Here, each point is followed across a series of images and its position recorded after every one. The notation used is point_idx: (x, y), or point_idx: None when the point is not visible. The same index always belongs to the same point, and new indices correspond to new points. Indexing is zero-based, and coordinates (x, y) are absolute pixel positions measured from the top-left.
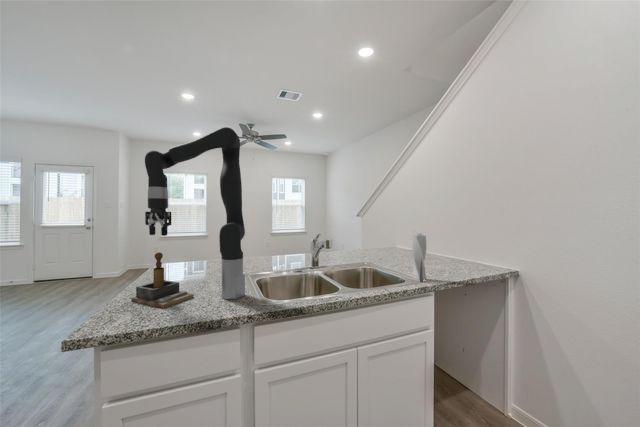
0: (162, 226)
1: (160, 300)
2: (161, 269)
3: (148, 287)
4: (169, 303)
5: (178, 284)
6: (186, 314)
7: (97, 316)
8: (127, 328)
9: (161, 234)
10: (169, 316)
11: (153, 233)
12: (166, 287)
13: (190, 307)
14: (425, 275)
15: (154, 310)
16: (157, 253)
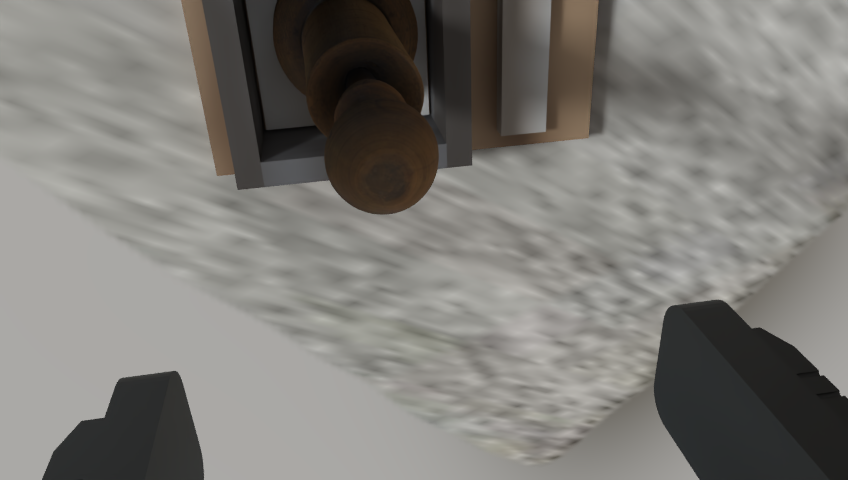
0: None
1: (541, 131)
2: (423, 93)
3: (250, 84)
4: (588, 88)
5: None
6: (793, 113)
7: (344, 364)
8: (639, 341)
9: (673, 427)
10: (718, 178)
11: (177, 433)
12: (468, 39)
13: (739, 25)
14: None
15: (555, 173)
16: (403, 202)
